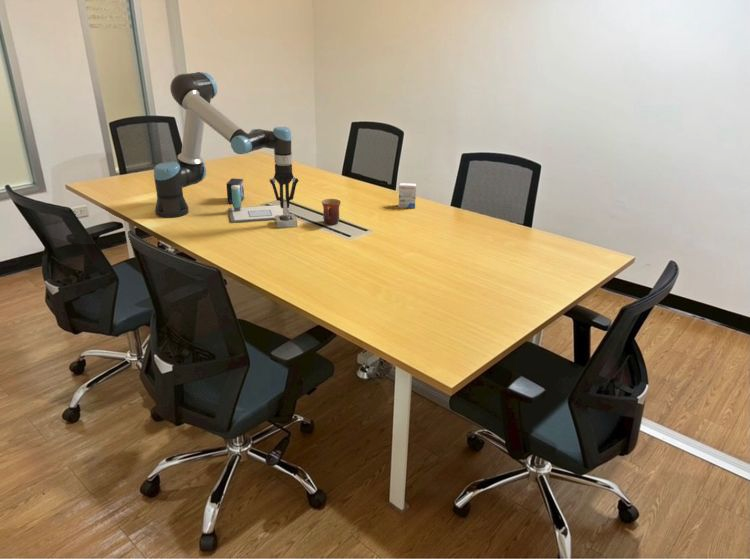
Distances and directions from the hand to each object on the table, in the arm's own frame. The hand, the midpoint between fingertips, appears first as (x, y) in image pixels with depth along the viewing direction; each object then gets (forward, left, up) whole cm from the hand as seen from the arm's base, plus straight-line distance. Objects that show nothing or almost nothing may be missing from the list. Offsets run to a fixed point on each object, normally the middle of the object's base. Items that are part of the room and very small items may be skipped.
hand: (285, 214), depth 259 cm
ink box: (+64, +13, -5) cm, 66 cm away
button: (0, 0, -4) cm, 4 cm away
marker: (-20, +22, -4) cm, 29 cm away
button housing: (0, 0, -5) cm, 5 cm away
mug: (+20, -4, -5) cm, 21 cm away
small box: (-19, +41, -5) cm, 45 cm away
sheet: (-10, +17, -5) cm, 20 cm away
